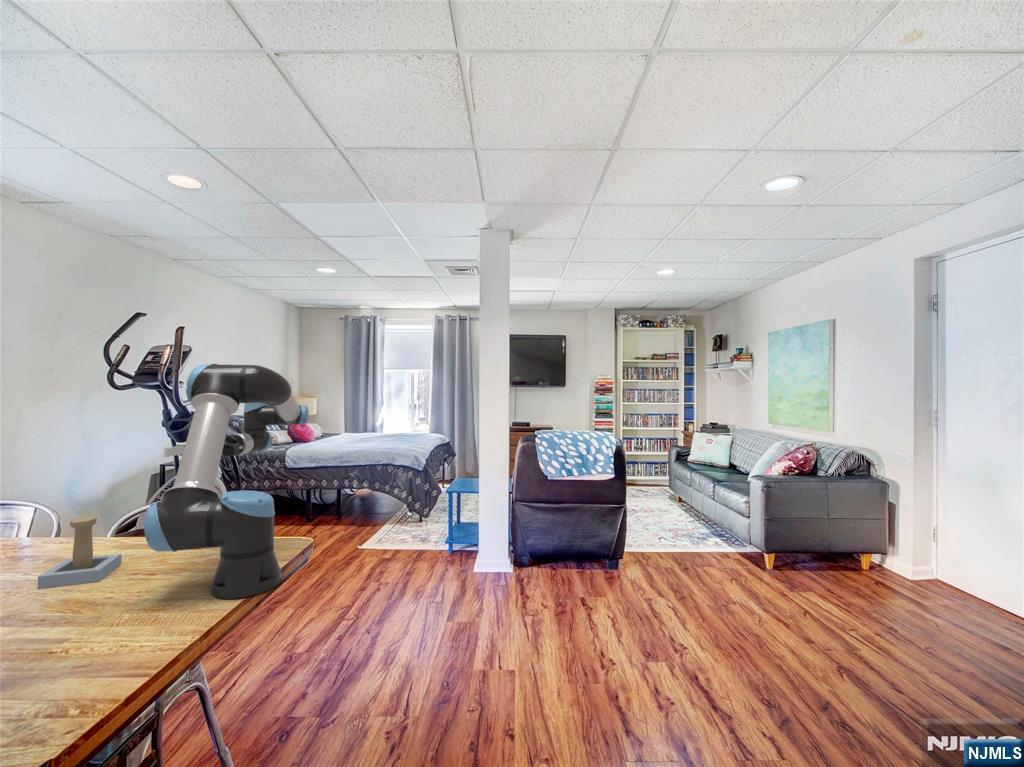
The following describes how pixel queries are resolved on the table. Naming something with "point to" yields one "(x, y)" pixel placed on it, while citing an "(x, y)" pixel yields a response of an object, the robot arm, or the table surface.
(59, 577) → the socket block
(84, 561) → the handle
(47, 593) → the table surface
